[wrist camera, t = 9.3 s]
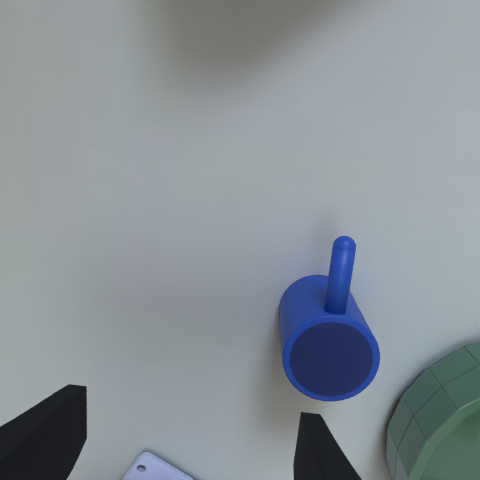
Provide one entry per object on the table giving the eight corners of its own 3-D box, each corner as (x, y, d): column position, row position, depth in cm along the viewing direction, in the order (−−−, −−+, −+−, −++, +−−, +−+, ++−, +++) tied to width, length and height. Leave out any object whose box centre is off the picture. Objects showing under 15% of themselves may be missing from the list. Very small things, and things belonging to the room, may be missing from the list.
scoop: (349, 347, 22) (372, 407, 17) (275, 340, 22) (278, 397, 17) (369, 219, 20) (401, 245, 15) (289, 212, 20) (296, 235, 16)
